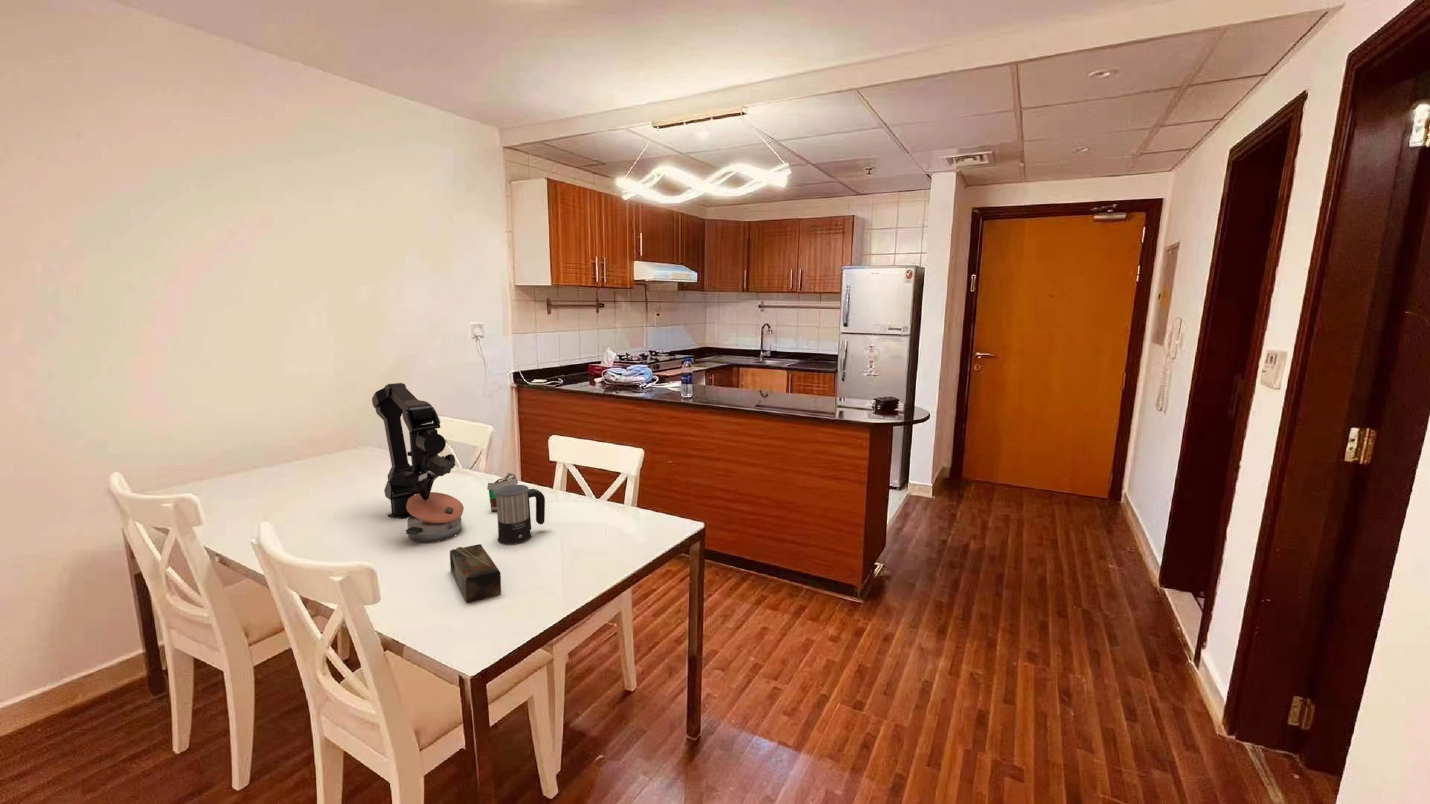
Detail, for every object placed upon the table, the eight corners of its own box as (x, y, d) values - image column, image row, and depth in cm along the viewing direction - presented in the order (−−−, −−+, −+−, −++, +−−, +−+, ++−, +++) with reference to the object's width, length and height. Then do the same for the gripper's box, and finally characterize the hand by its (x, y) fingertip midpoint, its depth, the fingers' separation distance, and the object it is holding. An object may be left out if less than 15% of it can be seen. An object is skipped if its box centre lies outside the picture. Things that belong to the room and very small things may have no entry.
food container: (506, 515, 180) (504, 485, 179) (488, 513, 181) (486, 483, 180) (526, 502, 192) (525, 473, 190) (509, 500, 193) (508, 472, 192)
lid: (393, 506, 158) (395, 500, 158) (432, 489, 173) (433, 484, 172) (438, 529, 156) (440, 523, 155) (473, 510, 170) (475, 504, 170)
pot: (390, 543, 158) (388, 526, 157) (437, 518, 176) (436, 503, 175) (433, 549, 155) (432, 531, 154) (477, 523, 173) (476, 508, 172)
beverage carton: (483, 564, 147) (481, 540, 146) (503, 595, 132) (501, 569, 131) (450, 571, 143) (448, 547, 142) (466, 605, 127) (464, 578, 126)
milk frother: (511, 548, 156) (508, 497, 154) (475, 535, 165) (472, 486, 162) (551, 531, 168) (549, 483, 166) (516, 519, 177) (513, 474, 174)
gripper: (421, 458, 151) (426, 514, 154) (467, 441, 169) (470, 492, 172) (386, 455, 154) (391, 509, 156) (435, 439, 171) (439, 488, 174)
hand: (425, 499), depth 165 cm, fingers closed
